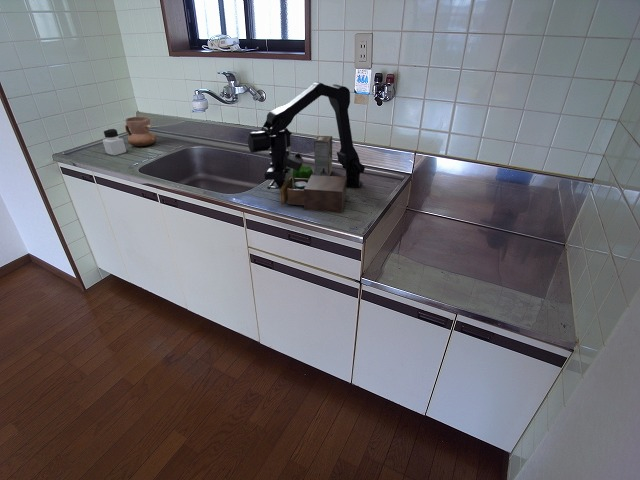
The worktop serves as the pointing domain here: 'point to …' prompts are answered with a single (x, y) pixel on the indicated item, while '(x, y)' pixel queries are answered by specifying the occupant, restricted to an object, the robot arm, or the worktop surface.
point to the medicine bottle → (113, 142)
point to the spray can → (290, 154)
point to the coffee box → (323, 155)
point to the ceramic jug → (139, 131)
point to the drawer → (290, 191)
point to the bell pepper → (302, 172)
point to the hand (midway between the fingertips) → (281, 189)
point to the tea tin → (300, 185)
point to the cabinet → (325, 193)
